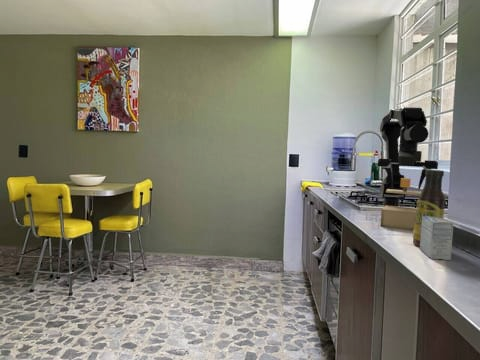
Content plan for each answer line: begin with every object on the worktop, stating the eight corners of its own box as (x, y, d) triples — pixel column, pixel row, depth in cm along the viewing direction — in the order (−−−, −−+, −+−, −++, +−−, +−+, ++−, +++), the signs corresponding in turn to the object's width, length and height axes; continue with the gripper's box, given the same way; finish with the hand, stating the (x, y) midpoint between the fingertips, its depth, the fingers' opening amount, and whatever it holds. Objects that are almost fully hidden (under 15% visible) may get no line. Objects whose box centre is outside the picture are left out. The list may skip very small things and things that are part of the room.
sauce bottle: (407, 243, 91) (413, 168, 90) (423, 242, 94) (429, 169, 92) (429, 250, 85) (436, 170, 84) (446, 248, 88) (453, 170, 86)
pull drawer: (387, 190, 128) (388, 176, 128) (423, 193, 123) (424, 179, 122) (385, 192, 122) (386, 177, 121) (423, 195, 116) (424, 180, 116)
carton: (384, 218, 126) (385, 203, 126) (421, 223, 121) (422, 207, 120) (380, 226, 113) (381, 209, 113) (421, 231, 108) (423, 213, 107)
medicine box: (451, 261, 77) (454, 223, 77) (429, 259, 78) (432, 221, 78) (438, 251, 85) (441, 216, 84) (418, 249, 86) (421, 215, 85)
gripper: (377, 142, 118) (374, 187, 119) (440, 143, 109) (436, 192, 111) (380, 143, 128) (377, 185, 129) (438, 144, 119) (434, 189, 120)
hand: (405, 188), depth 122 cm, fingers open, 8 cm apart
